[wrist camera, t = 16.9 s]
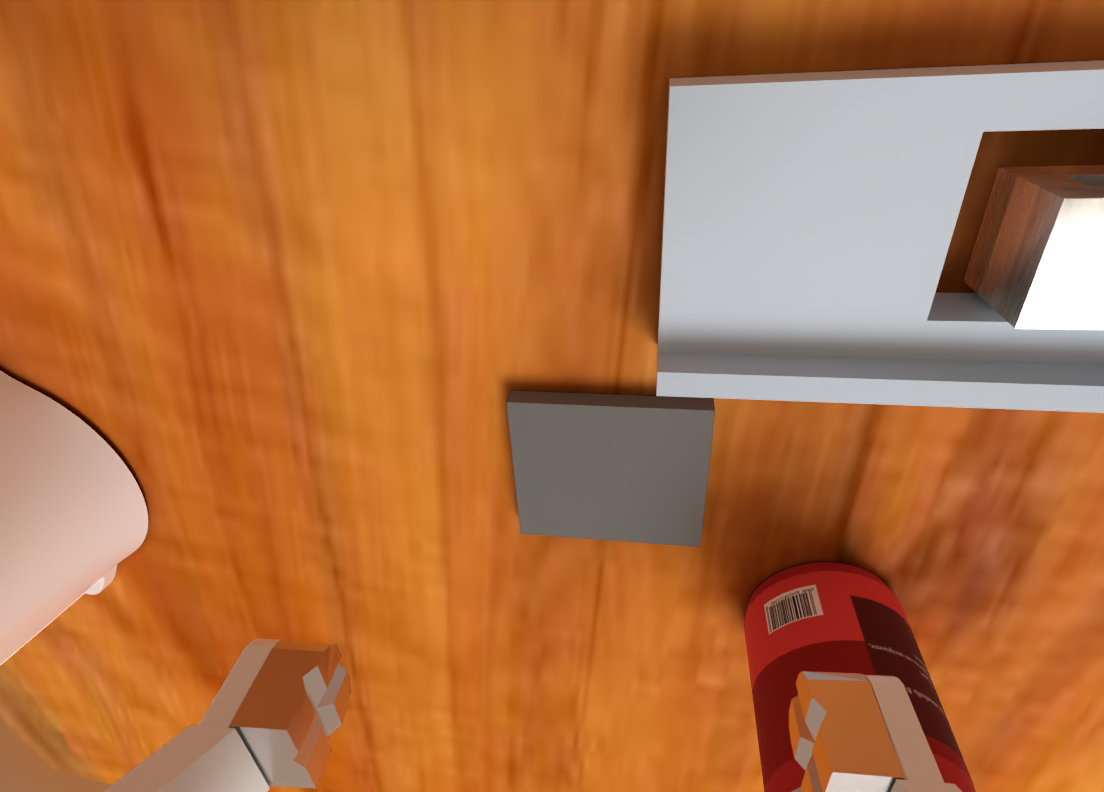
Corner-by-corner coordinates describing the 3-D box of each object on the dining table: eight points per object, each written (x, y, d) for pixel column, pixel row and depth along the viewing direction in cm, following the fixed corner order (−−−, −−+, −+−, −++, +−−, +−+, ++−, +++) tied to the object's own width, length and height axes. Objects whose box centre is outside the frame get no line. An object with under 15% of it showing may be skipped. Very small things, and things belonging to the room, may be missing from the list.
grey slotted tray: (657, 345, 26) (656, 395, 22) (669, 78, 21) (670, 92, 17) (1145, 357, 23) (1227, 417, 20) (1304, 52, 18) (1453, 62, 14)
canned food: (724, 639, 35) (745, 865, 26) (770, 542, 31) (815, 771, 21) (859, 669, 35) (930, 909, 25) (926, 574, 30) (1040, 822, 21)
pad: (524, 519, 32) (520, 533, 32) (511, 390, 28) (506, 402, 27) (699, 532, 31) (700, 547, 30) (713, 398, 27) (714, 410, 26)
